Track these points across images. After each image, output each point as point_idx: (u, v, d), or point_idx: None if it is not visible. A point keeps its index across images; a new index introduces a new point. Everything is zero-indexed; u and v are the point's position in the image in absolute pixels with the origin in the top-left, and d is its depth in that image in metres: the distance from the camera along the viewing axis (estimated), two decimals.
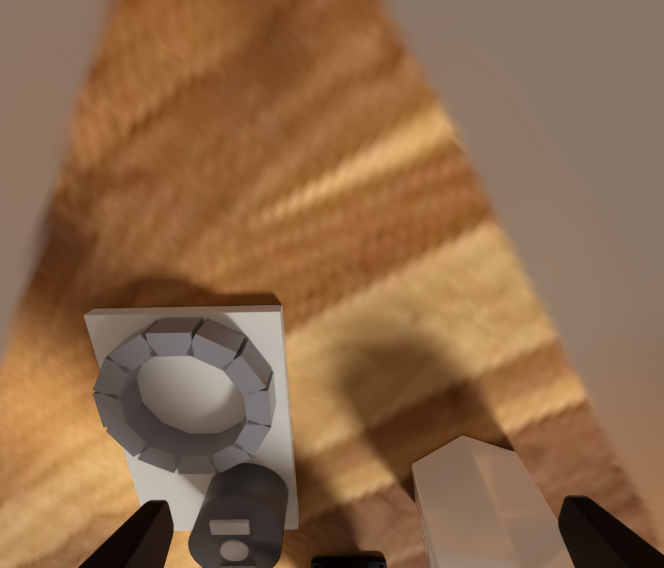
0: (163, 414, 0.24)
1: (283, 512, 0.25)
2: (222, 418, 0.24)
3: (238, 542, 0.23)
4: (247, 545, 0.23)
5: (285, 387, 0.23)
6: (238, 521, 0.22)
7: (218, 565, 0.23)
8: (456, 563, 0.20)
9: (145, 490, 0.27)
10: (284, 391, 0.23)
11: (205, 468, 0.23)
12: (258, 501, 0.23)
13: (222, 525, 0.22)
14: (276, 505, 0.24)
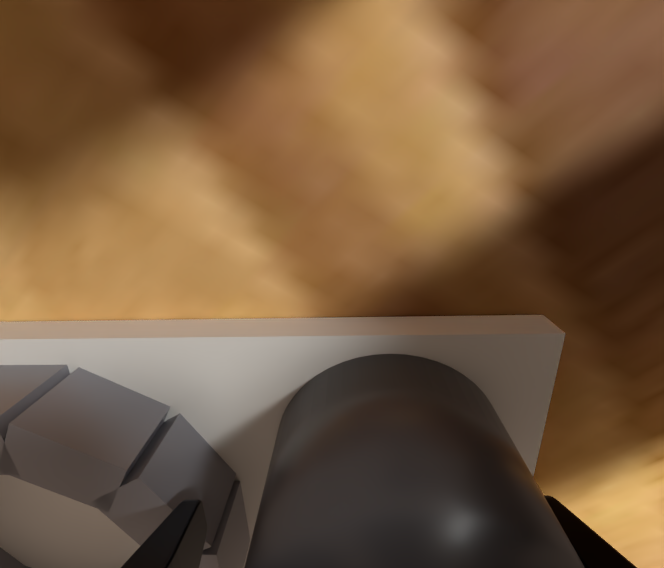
0: None
1: (371, 413, 0.07)
2: None
3: None
4: None
5: (11, 341, 0.09)
6: None
7: None
8: None
9: None
10: (23, 344, 0.09)
11: None
12: (265, 502, 0.07)
13: None
14: (318, 439, 0.07)
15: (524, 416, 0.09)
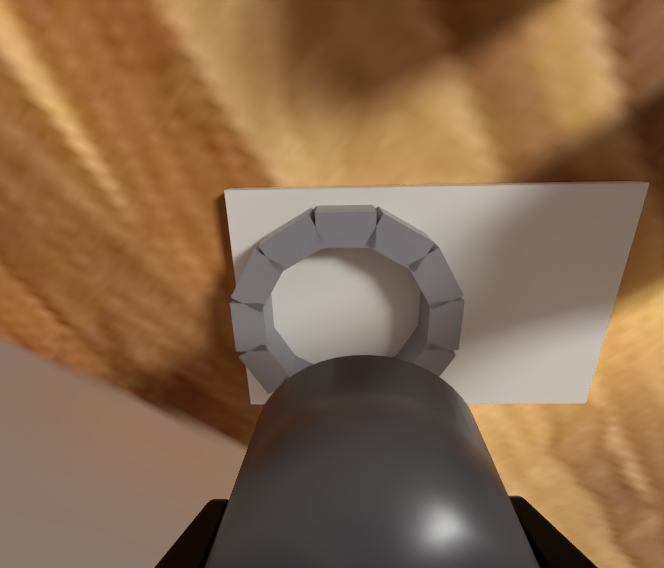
0: (384, 351, 0.19)
1: (339, 414, 0.07)
2: (395, 282, 0.18)
3: None
4: None
5: (345, 189, 0.16)
6: None
7: None
8: None
9: (508, 392, 0.20)
10: (351, 191, 0.16)
11: (452, 314, 0.16)
12: (231, 500, 0.07)
13: None
14: (286, 438, 0.07)
15: (622, 236, 0.17)
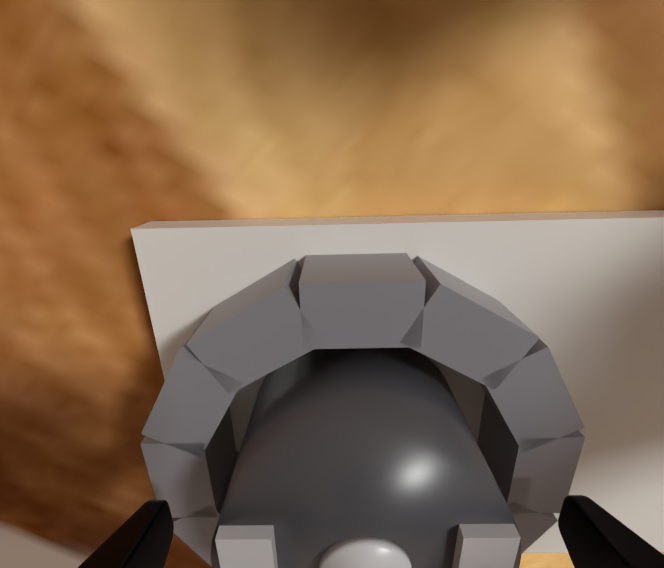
0: None
1: (333, 379, 0.08)
2: None
3: (325, 562, 0.07)
4: (350, 537, 0.07)
5: (356, 226, 0.09)
6: (222, 555, 0.07)
7: None
8: None
9: None
10: (368, 230, 0.09)
11: (559, 458, 0.08)
12: (240, 457, 0.08)
13: None
14: (287, 402, 0.08)
15: None
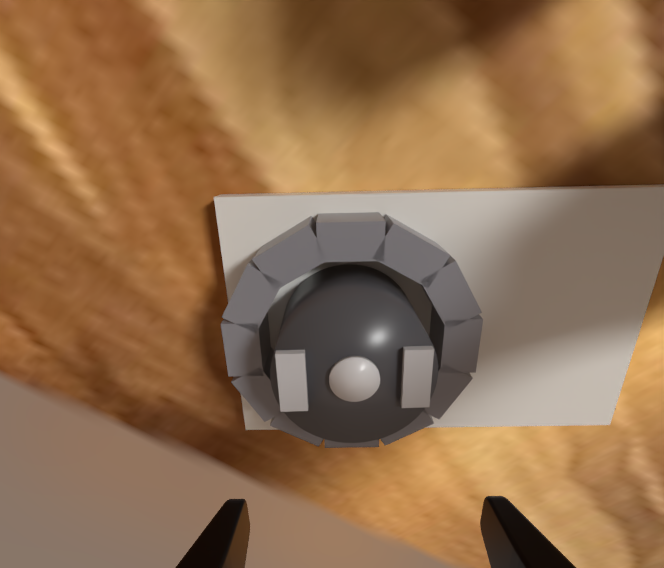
0: None
1: (334, 281, 0.13)
2: None
3: (332, 371, 0.12)
4: (346, 357, 0.12)
5: (348, 195, 0.14)
6: (277, 367, 0.12)
7: (398, 404, 0.13)
8: None
9: (526, 414, 0.18)
10: (355, 197, 0.14)
11: (469, 333, 0.14)
12: (282, 325, 0.13)
13: (284, 393, 0.13)
14: (309, 294, 0.13)
15: (653, 245, 0.15)
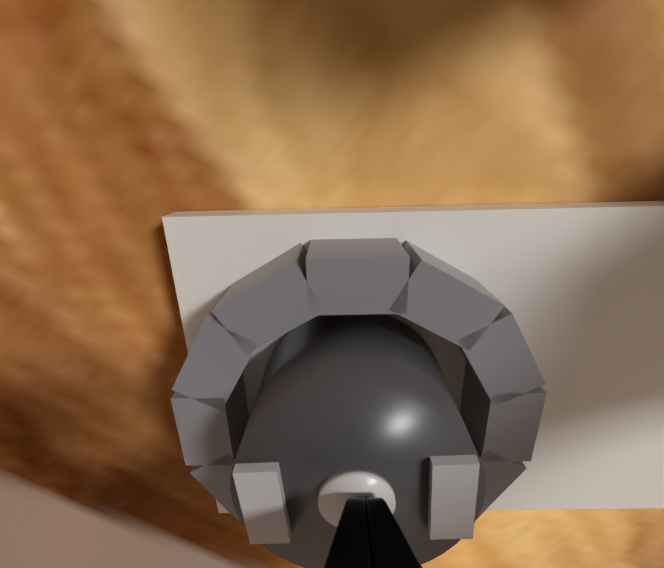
0: None
1: (324, 346, 0.09)
2: None
3: (322, 491, 0.08)
4: (342, 470, 0.08)
5: (353, 214, 0.10)
6: (239, 487, 0.08)
7: (424, 531, 0.09)
8: None
9: (585, 495, 0.14)
10: (363, 218, 0.10)
11: (525, 411, 0.10)
12: (251, 413, 0.09)
13: (253, 521, 0.08)
14: (287, 366, 0.09)
15: None
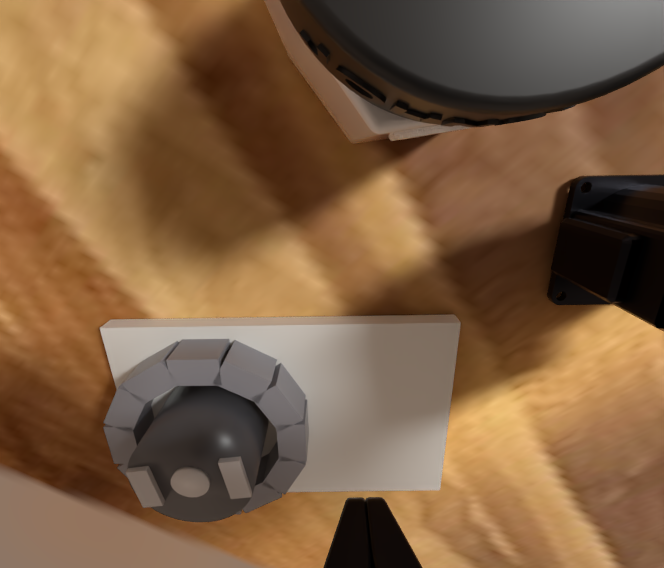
0: None
1: (177, 404, 0.18)
2: None
3: (172, 478, 0.17)
4: (180, 468, 0.17)
5: (204, 327, 0.19)
6: None
7: (230, 495, 0.17)
8: (338, 98, 0.09)
9: (371, 482, 0.22)
10: (209, 328, 0.19)
11: (296, 434, 0.19)
12: None
13: (142, 495, 0.17)
14: (158, 416, 0.18)
15: (445, 362, 0.19)
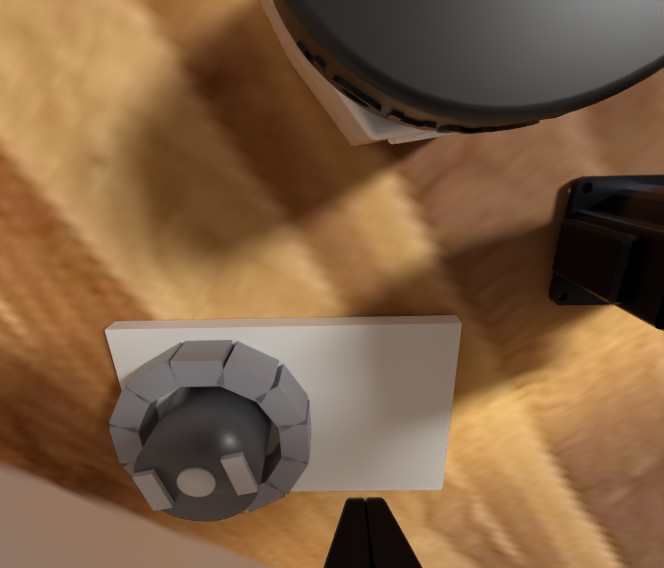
0: None
1: (177, 406, 0.18)
2: None
3: (178, 480, 0.17)
4: (184, 468, 0.17)
5: (207, 328, 0.19)
6: None
7: (237, 491, 0.17)
8: (337, 104, 0.09)
9: (374, 482, 0.23)
10: (212, 330, 0.19)
11: (298, 434, 0.19)
12: None
13: (150, 499, 0.17)
14: (160, 420, 0.18)
15: (447, 362, 0.19)
